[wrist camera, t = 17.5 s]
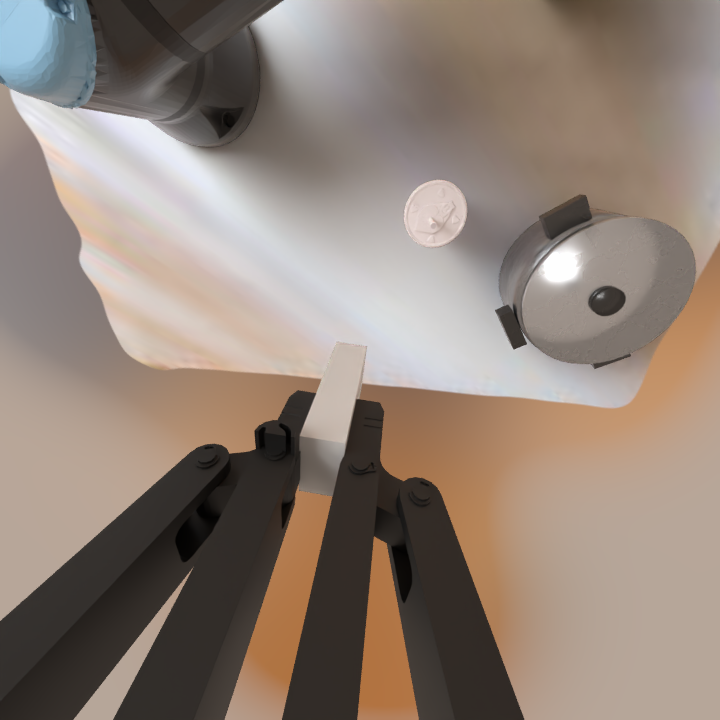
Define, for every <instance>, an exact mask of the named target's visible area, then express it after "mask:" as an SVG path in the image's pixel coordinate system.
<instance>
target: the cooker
mask: <svg viewBox="0 0 720 720" xmlns="http://www.w3.org/2000/svg"><path fill="white" fill-rule="evenodd" d="M615 217H627V216H625V215H620V214H616V213H611V212H607V211H603V210H598V209H593V208H589V204H588V201H587V197H586V196H585V195H578V196H576V197H574V198H572V199H571V200H569V201H567V202H565V203H563V204H561V205H560V206H558V207H556V208H554V209H552V210H550V211H548V212H547V213H545V214H543V215H541V216H539V218H540V220H539V221H538V222H536V223H534V224H533V225H532V226H530V227H529V228H528V229H527V230H526V231H524V232H523V233H522V234H521V235H520V236H519V237H518V239H517V240H516V241H515V242H514V243H513V245H512V246H511V248H510V249H509V251H508V253H507V255H506V256H505V258H504V261H503V264H502V266H501V270H500V275H499V291H500V296H501V299H502V302H503V303H504V305H505V306H503V307H501V308H499V309H497V310H495V311H496V314H497V316H498V318H499V320H500V322H501V325H502V327H503V329H504V331H505V334H506V336H507V338H508V340H509V342H510V344H511V346H512V347H513V349H516V348H519V347H521V346H523V345H526V344H527V343H526V341H525V338H524V336H523V334H522V331H523V333H524V334H525V336H526V337H527V338H528V340H529V341H530V342H531V343H532V344H533V345H534V346H535V344H534V343H533V342H532V340H531V339H530V338H529V336H528V335H527V333H526V331H525V329H524V326H523V323H522V320H521V298H522V294H523V290H524V287H525V285H526V282H527V280H528V278H529V276H530V274H531V273H532V271H533V269H534V268H535V266H536V265H537V264H538V262H539V261H540V260H541V258H542V257H543V256H544V255H545V254H546V253H547V252H548V251H549V250H550V249H551V248H552V247H554V246H555V245H556V244H557V243H558V242H560V241H561V240H562V239H564V238H565V237H567V236H568V235H570V234H571V233H573V232H575V231H577V230H578V229H580V228H583V227H585V226H587V225H589V224H592V223H595V222H598V221H601V220H605V219H610V218H615ZM628 217H629V216H628ZM521 330H522V331H521ZM535 347H536V346H535ZM537 348H538V347H537ZM538 349H539V348H538ZM630 356H631V355H630V354H628V355H625V356H623V357H620V358H617V359H614V360H610V361H606V362H601V363H593V364H591V365H592V366H593V367H594V369H596V368H599V367H602V366H604V365H607V364H610V363H613V362H616V361H618V360H621V359H624V358H627V357H630Z"/></svg>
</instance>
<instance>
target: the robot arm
mask: <svg viewBox="0 0 720 720" xmlns="http://www.w3.org/2000/svg"><path fill="white" fill-rule="evenodd" d="M282 1H284V0H0V83H1V84H4V85H6V86H7V87H8V88H10V89H13V90H15V91H17V92H19V93H21V94H24V95H27V96H30V97H34V98H37V99H40V100H44V101H47V102H50V103H52V104H54V105H56V106H60V107H63V108H71V109H73V107H74V108H83V109H89V110H95V111H101V112H106V113H112V114H118V115H124V116H130V117H136V118H141V119H147V120H149V121H150V122H151V123H153V124H154V125H155V126H157V127H158V128H159V129H161V130H162V131H164V132H165V133H166V134H168V135H169V136H171V137H173V138H175V139H177V140H179V141H181V142H184V143H187V144H190V145H195V146H204V147H215V146H221V145H224V144H227V143H229V142H231V141H233V140H234V139H236V138H237V137H238V136H239V135H240V134H241V133H242V132H243V131H244V130H245V129H246V127H247V126H248V124H249V122H250V121H251V119H252V117H253V114H254V112H255V109H256V105H257V101H258V96H259V88H260V71H259V61H258V56H257V51H256V47H255V44H254V40H253V37H252V34H251V32H250V29H249V27H248V25H250V24H251V23H252V22H254V21H255V20H257V19H258V18H260V17H261V16H262V15H264V14H265V13H267V12H268V11H269V10H271V9H272V8H274V7H275V6H276V5H278V4H279V3H281V2H282ZM366 349H367V346H361V345H354V344H348V343H341V342H337V343H336V345H335V348H334V350H333V353H332V355H331V358H330V360H329V363H328V365H327V368H326V370H325V373H324V375H323V378H322V380H321V383H320V385H319V388H318V390H317V393H310V392H305V391H299V390H298V391H296V392H295V393H294V394H293V395H291V396H290V397H289V399H288V401H287V403H286V405H285V407H284V409H283V410H282V413H281V415H280V417H279V418H278V420H272V421H268V422H265V423H263V424H261V425H259V426H258V428H257V429H256V430H255V443H256V449H255V450H252V451H250V452H243V453H232V454H229V452H228V450H227V449H226V448H225V447H223V446H222V445H217V444H207V445H203V446H200V447H198V448H196V449H195V450H193V451H192V452H190V453H189V454H188V455H187V456H186V457H185V458H184V459H182V460H181V461H180V462H179V463H178V464H177V465H176V466H175V467H173V468H172V469H171V470H170V471H169V472H168V473H167V474H166V475H164V476H163V477H162V478H161V479H160V480H159V481H158V482H156V484H154V485H153V486H152V487H151V488H150V489H149V490H147V491H146V492H145V493H144V494H143V495H142V496H141V497H140V498H138V499H137V500H136V501H135V502H134V503H133V504H132V505H131V506H129V507H128V508H127V509H126V510H125V511H124V512H123V513H122V514H120V515H119V516H118V517H117V518H116V519H115V520H114V521H113V522H111V523H110V524H109V525H108V526H107V527H106V528H105V529H103V530H102V531H101V532H100V533H99V534H98V535H97V536H96V537H94V538H93V539H92V540H91V541H90V542H89V543H88V544H87V545H86V546H84V547H83V548H82V549H81V550H80V551H79V552H78V553H77V554H75V555H74V556H73V557H72V558H71V559H70V560H69V561H67V562H66V563H65V564H64V565H63V566H62V567H61V568H60V569H58V570H57V571H56V572H55V573H54V574H53V575H52V576H51V577H49V578H48V579H47V580H46V581H45V582H44V583H43V584H42V585H40V587H38V588H37V589H36V590H35V591H34V592H33V593H31V594H30V595H29V596H28V597H27V598H26V599H25V600H24V601H22V602H21V603H20V604H19V605H18V606H17V607H16V608H15V609H13V610H12V611H11V612H10V613H9V614H8V615H7V616H6V617H4V618H3V619H2V620H1V621H0V720H73V719H74V718H75V717H76V716H77V714H78V713H79V712H80V710H81V709H82V708H83V707H84V705H85V704H86V703H87V702H88V700H89V699H90V698H91V696H92V695H93V694H94V693H95V691H96V690H97V689H98V688H99V686H100V685H101V684H102V682H103V681H104V680H105V679H106V677H107V676H108V675H109V674H110V672H111V671H112V670H113V669H114V667H115V666H116V664H117V663H118V662H119V661H120V660H121V658H122V657H123V656H124V655H125V653H126V652H127V650H128V649H129V648H130V647H131V646H132V644H133V643H134V642H135V640H136V639H137V638H138V637H139V635H140V634H141V633H142V632H143V630H144V629H145V628H146V627H147V625H148V624H149V623H150V622H151V620H152V619H153V618H154V616H155V615H156V614H157V613H158V611H159V610H160V609H161V607H162V606H163V605H164V604H165V602H166V601H167V600H168V599H169V597H170V596H171V595H172V593H173V592H174V591H175V590H176V588H177V587H178V586H179V585H180V583H181V582H182V581H183V579H184V578H185V577H186V576H187V574H188V573H189V572H190V571H191V569H192V568H193V570H192V571H191V573H190V575H189V577H188V579H187V581H186V583H185V585H184V586H183V588H182V590H181V592H180V594H179V596H178V598H177V600H176V602H175V604H174V606H173V608H172V609H171V611H170V613H169V615H168V617H167V619H166V621H165V622H164V624H163V626H162V628H161V630H160V632H159V634H158V636H157V638H156V639H155V642H154V643H153V645H152V647H151V649H150V651H149V653H148V655H147V657H146V658H145V660H144V662H143V664H142V666H141V668H140V670H139V672H138V674H137V676H136V677H135V680H134V681H133V683H132V685H131V687H130V689H129V691H128V693H127V695H126V696H125V698H124V700H123V702H122V704H121V706H120V708H119V710H118V711H117V714H116V715H115V717H114V719H113V720H224V719H225V716H226V713H227V710H228V707H229V704H230V701H231V698H232V695H233V692H234V689H235V686H236V683H237V680H238V676H239V673H240V670H241V667H242V664H243V661H244V658H245V655H246V652H247V649H248V646H249V643H250V639H251V637H252V633H253V631H254V628H255V624H256V621H257V618H258V615H259V612H260V609H261V606H262V603H263V600H264V597H265V594H266V591H267V587H268V585H269V582H270V579H271V575H272V572H273V569H274V566H275V563H276V560H277V557H278V554H279V551H280V548H281V545H282V542H283V538H284V536H285V533H286V530H287V527H288V523H289V520H290V517H291V514H292V511H293V508H294V505H295V493H296V490H297V487H298V484H299V491H305V492H310V493H316V494H322V495H327V496H333V497H332V501H331V506H330V511H329V515H328V519H327V524H326V528H325V532H324V537H323V541H322V546H321V550H320V554H319V559H318V563H317V567H316V572H315V576H314V581H313V585H312V590H311V594H310V599H309V603H308V607H307V612H306V616H305V620H304V625H303V630H302V634H301V638H300V642H299V647H298V651H297V656H296V660H295V664H294V669H293V673H292V678H291V682H290V686H289V691H288V696H287V700H286V704H285V709H284V713H283V718H282V720H357V715H358V704H359V693H360V682H361V670H362V660H363V648H364V638H365V626H366V616H367V604H368V594H369V583H370V571H371V561H372V550H373V539H374V536H375V537H376V538H378V539H380V540H382V541H384V542H386V543H387V547H388V553H389V558H390V563H391V569H392V575H393V580H394V585H395V591H396V596H397V602H398V607H399V613H400V618H401V623H402V629H403V634H404V640H405V645H406V651H407V656H408V662H409V667H410V673H411V678H412V683H413V689H414V695H415V700H416V705H417V710H418V716H419V720H524V718H523V715H522V712H521V710H520V707H519V704H518V702H517V699H516V696H515V693H514V691H513V688H512V685H511V682H510V680H509V677H508V674H507V672H506V669H505V666H504V664H503V661H502V658H501V655H500V653H499V650H498V647H497V644H496V642H495V639H494V637H493V634H492V631H491V628H490V625H489V623H488V620H487V617H486V615H485V612H484V609H483V607H482V604H481V601H480V598H479V596H478V593H477V591H476V588H475V585H474V582H473V580H472V577H471V574H470V572H469V569H468V566H467V564H466V561H465V558H464V555H463V552H462V550H461V547H460V545H459V542H458V539H457V536H456V534H455V531H454V529H453V525H452V523H451V520H450V517H449V515H448V512H447V509H446V506H445V504H444V501H443V498H442V496H441V494H440V492H439V490H438V488H437V487H436V486H435V485H433V484H432V483H431V482H429V481H427V480H425V479H423V478H417V477H414V478H409V479H407V480H405V481H402V480H400V479H397V478H395V477H393V476H392V475H390V474H389V473H388V472H387V471H386V470H385V469H384V468H383V466H382V464H381V462H380V450H381V439H382V428H383V417H384V411H383V408H382V406H381V404H380V403H379V402H372V401H366V400H360V399H359V398H360V393H361V387H362V379H363V372H364V364H365V357H366Z"/></svg>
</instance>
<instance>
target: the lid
mask: <svg viewBox="0 0 720 720" xmlns="http://www.w3.org/2000/svg"><path fill="white" fill-rule="evenodd" d="M695 273H696V266H695V258H694V254H693V251H692V249H691V247H690V245H689V243H688V242H687V240H686V239H685V238H684V236H683V235H682V234H680V233H679V232H678V231H677V230H676V229H674V228H672V227H671V226H669V225H667V224H665V223H662V222H659V221H656V220H652V219H647V218H641V217H628V216H627V217H615V218H610V219H605V220H601V221H598V222H595V223H592V224H589V225H587V226H585V227H583V228H580V229H578V230H577V231H575V232H573V233H571V234H570V235H568V236H567V237H565V238H564V239H562V240H561V241H560V242H558V243H557V244H556V245H555V246H554V247H552V248H551V249H550V250H549V251H548V252H547V253H546V254H545V255H544V256H543V257H542V258H541V260H540V261H539V262H538V264H537V265H536V266H535V268H534V269H533V271H532V273H531V274H530V276H529V278H528V280H527V282H526V285H525V287H524V290H523V294H522V298H521V320H522V323H523V326H524V329H525V331H526V333H527V335H528V336H529V338H530V339H531V340H532V342H533V343H534V344H535V346H536V347H538V348H539V349H540V350H541V351H542V352H544V353H545V354H546V355H548V356H550V357H552V358H554V359H557V360H560V361H563V362H568V363H575V364H593V363H601V362H606V361H610V360H614V359H617V358H620V357H623V356H625V355H628V354H630V353H632V352H634V351H636V350H638V349H640V348H642V347H643V346H645V345H646V344H648V343H650V342H651V341H652V340H654V339H655V338H656V337H658V336H659V335H660V334H661V333H662V332H664V331H665V330H666V329H667V328H668V327H669V326H670V325H671V324H672V323H673V321H674V320H675V319H676V318H677V317H678V315H679V314H680V312H681V311H682V310H683V308H684V306H685V305H686V303H687V301H688V299H689V297H690V294H691V292H692V289H693V285H694V281H695Z"/></svg>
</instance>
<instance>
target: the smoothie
mask: <svg viewBox="0 0 720 720" xmlns="http://www.w3.org/2000/svg"><path fill="white" fill-rule="evenodd" d="M466 219H467V203H466V200H465V197H464V195H463V193H462V192H461V191H460V189H459V188H458V187H457V186H455V185H454V184H453V183H451V182H448V181H445V180H432V181H428V182H426V183H424V184H422V185H420V186H419V187H418V188H417V189H416V190H415V191H413V192H412V194H411V195H410V197H409V199H408V200H407V203H406V206H405V209H404V223H405V227H406V230H407V232H408V234H409V235H410V237H411V238H412V239H413V240H414V241H415V242H416V243H418V244H420V245H422V246H424V247H429V248H436V247H441V246H444V245H446V244H448V243H450V242H451V241H453V240H454V239H455V238H456V237H457V236H458V235H459V234H460V232H461V231H462V229H463V227H464V225H465V222H466Z"/></svg>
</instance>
